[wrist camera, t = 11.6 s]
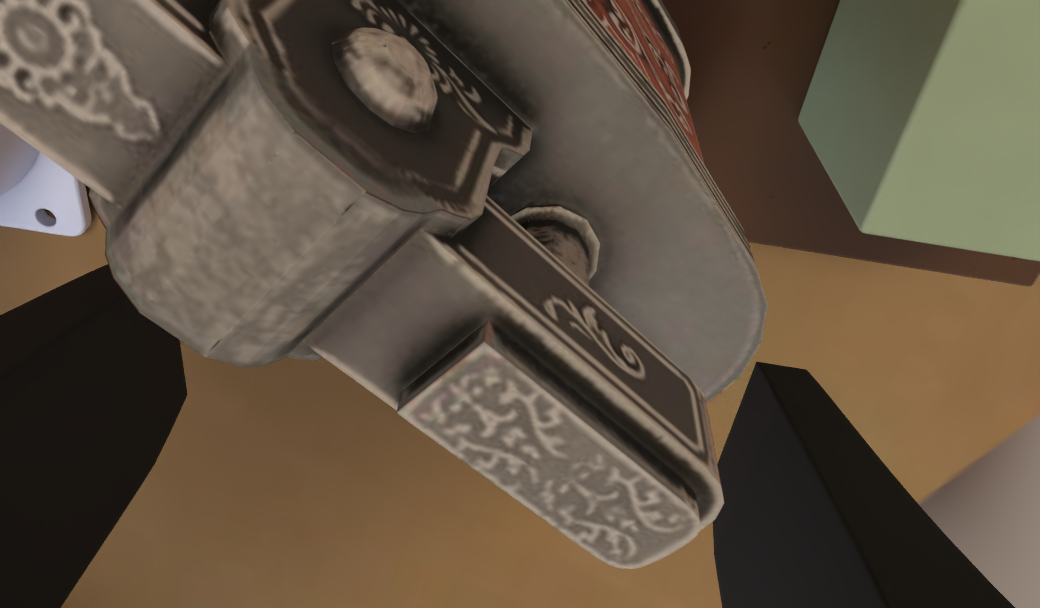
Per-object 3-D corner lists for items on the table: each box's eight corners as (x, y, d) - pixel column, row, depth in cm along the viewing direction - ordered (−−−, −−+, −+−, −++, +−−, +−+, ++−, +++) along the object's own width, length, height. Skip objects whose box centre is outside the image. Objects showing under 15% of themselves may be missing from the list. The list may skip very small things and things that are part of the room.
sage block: (795, 120, 14) (859, 235, 11) (887, -139, 12) (1004, -97, 8) (1021, 157, 14) (1154, 282, 11) (1155, -94, 12) (1375, -33, 8)
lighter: (214, -172, 12) (-598, -13, 4) (350, -386, 11) (-504, -892, 2) (584, 182, 15) (579, 714, 7) (733, 53, 13) (966, 533, 5)
